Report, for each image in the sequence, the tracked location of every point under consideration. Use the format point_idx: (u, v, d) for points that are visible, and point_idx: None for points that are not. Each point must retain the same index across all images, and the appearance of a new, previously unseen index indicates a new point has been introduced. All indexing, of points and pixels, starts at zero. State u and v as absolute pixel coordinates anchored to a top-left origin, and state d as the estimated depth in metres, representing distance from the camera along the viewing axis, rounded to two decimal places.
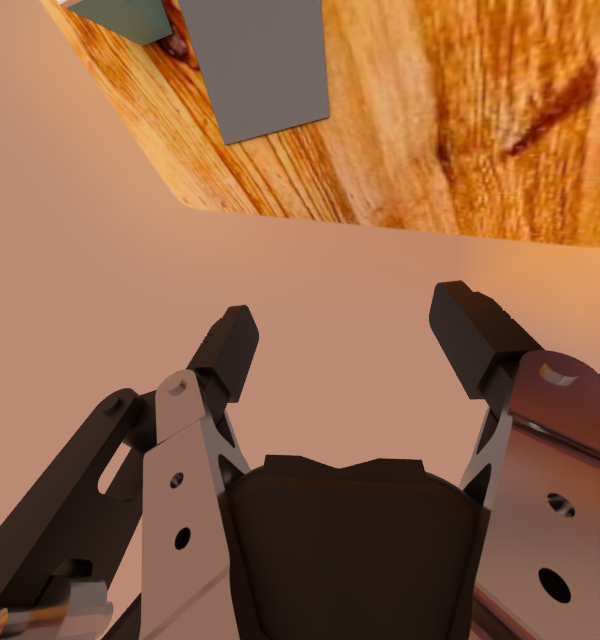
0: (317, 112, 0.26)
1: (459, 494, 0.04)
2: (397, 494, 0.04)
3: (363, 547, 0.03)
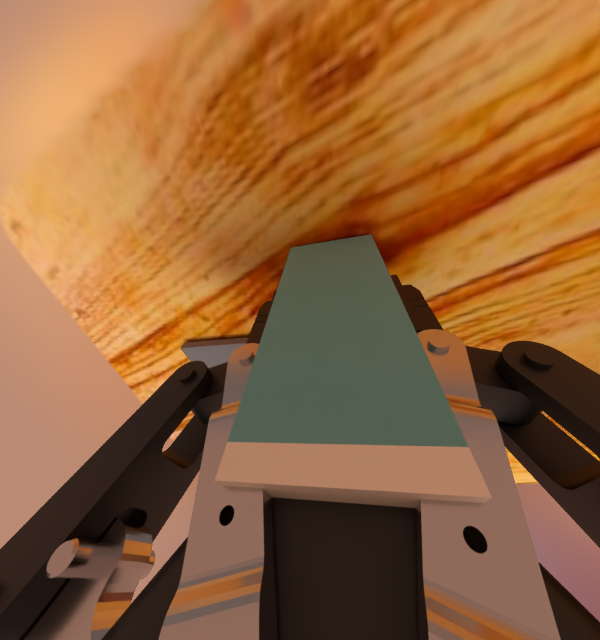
0: None
1: None
2: None
3: (363, 548, 0.03)
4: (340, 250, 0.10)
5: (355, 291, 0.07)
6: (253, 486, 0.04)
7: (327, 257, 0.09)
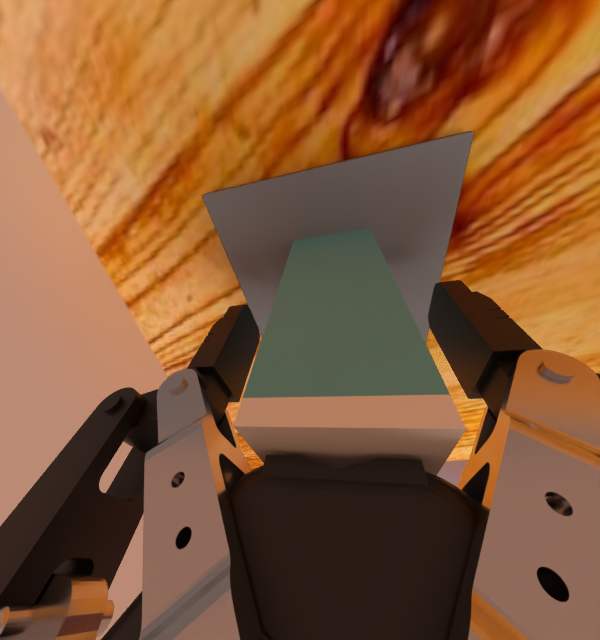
0: None
1: (459, 494, 0.04)
2: (397, 494, 0.04)
3: (363, 548, 0.03)
4: (340, 242, 0.10)
5: (354, 277, 0.08)
6: (266, 432, 0.04)
7: (328, 248, 0.10)
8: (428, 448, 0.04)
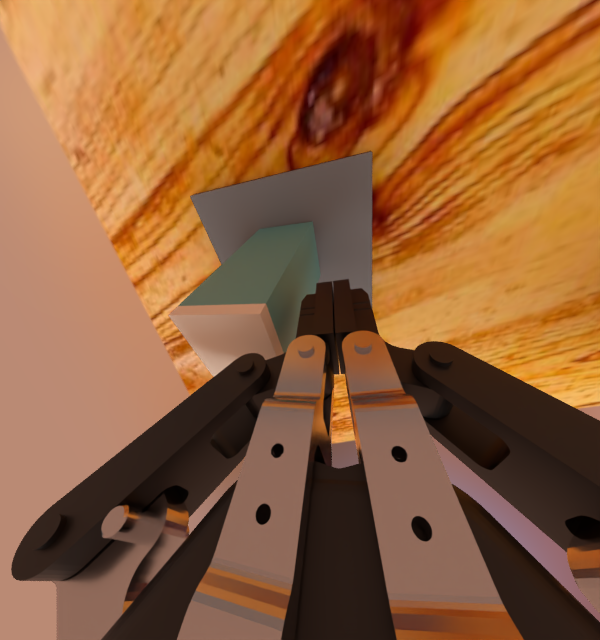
0: None
1: (459, 494, 0.04)
2: None
3: (363, 548, 0.03)
4: (286, 231, 0.14)
5: (273, 253, 0.11)
6: (183, 319, 0.08)
7: (275, 235, 0.14)
8: (256, 331, 0.08)
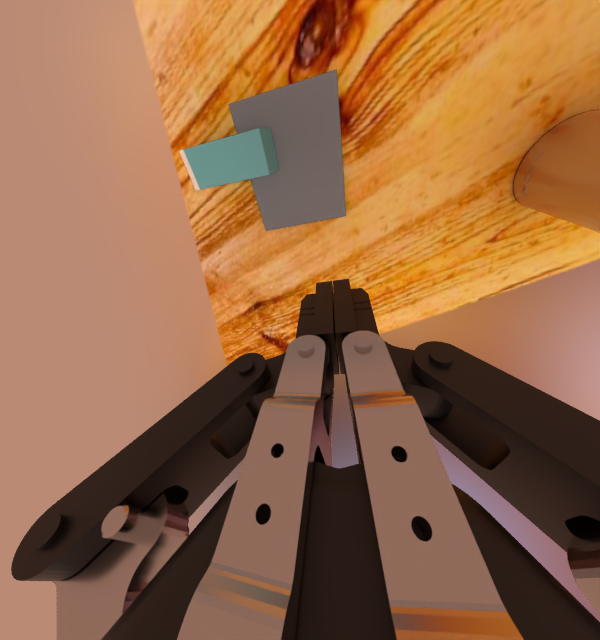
0: (267, 220, 0.32)
1: (459, 494, 0.04)
2: None
3: (363, 548, 0.03)
4: None
5: None
6: None
7: None
8: (184, 159, 0.25)
